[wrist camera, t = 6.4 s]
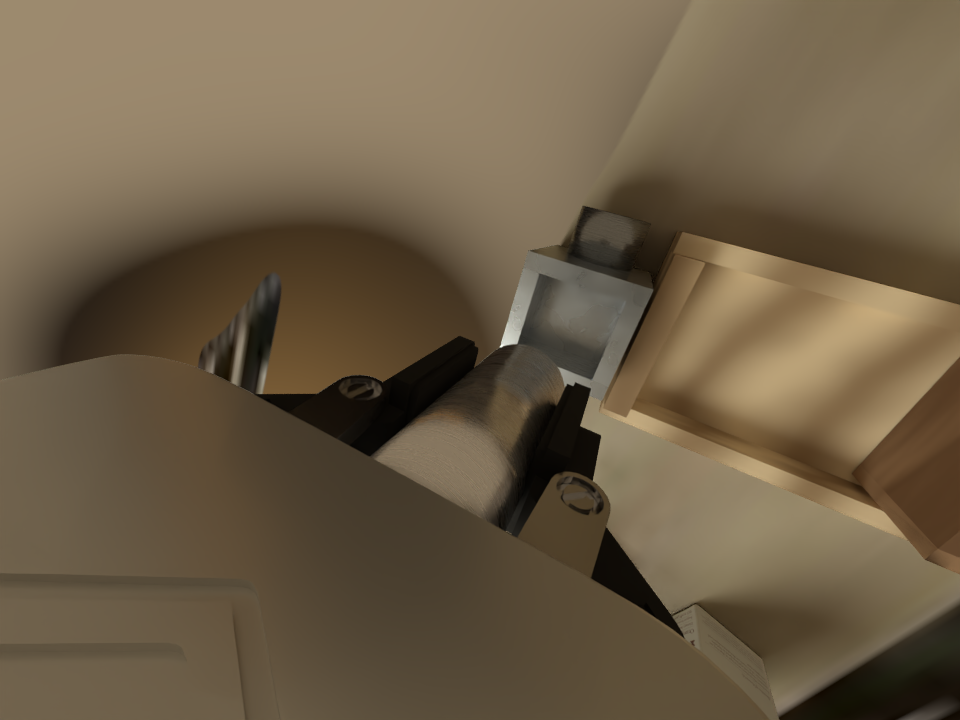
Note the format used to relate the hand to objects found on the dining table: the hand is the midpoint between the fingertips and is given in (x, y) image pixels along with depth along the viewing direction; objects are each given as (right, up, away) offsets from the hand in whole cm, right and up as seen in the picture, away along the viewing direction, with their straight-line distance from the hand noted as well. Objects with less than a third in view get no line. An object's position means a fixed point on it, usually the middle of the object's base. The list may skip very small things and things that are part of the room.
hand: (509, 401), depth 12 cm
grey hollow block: (+8, +7, +15) cm, 18 cm away
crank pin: (+1, 0, +1) cm, 1 cm away
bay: (+23, -1, +11) cm, 26 cm away
